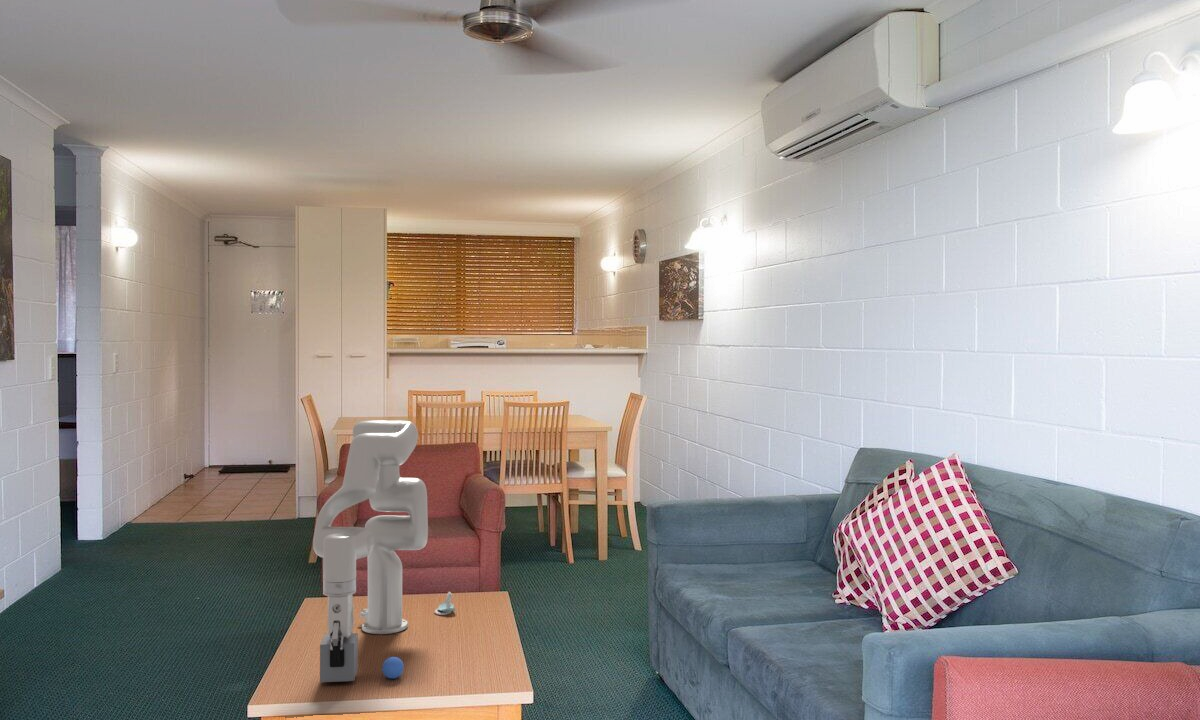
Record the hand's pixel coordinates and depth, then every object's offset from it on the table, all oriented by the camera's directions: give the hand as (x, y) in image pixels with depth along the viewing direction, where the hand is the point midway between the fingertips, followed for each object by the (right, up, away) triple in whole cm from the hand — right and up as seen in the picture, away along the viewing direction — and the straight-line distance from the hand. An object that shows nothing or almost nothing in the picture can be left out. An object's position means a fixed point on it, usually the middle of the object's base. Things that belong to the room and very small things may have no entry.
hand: (339, 660), depth 218 cm
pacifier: (+15, -5, +57) cm, 59 cm away
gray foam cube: (0, -4, 0) cm, 4 cm away
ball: (+12, -2, +2) cm, 13 cm away
